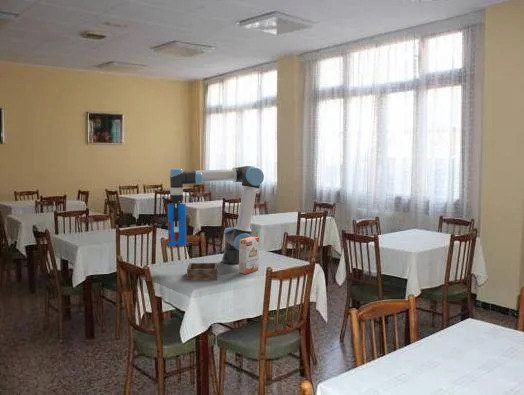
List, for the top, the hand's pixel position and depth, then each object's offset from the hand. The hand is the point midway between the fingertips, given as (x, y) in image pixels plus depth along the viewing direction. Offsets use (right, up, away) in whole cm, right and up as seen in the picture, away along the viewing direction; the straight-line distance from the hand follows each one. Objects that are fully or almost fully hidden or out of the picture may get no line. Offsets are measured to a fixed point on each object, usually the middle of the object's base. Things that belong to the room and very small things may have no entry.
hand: (177, 230), depth 312 cm
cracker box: (+44, -26, +4) cm, 51 cm away
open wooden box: (+16, -27, -8) cm, 32 cm away
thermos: (0, -9, +1) cm, 9 cm away
